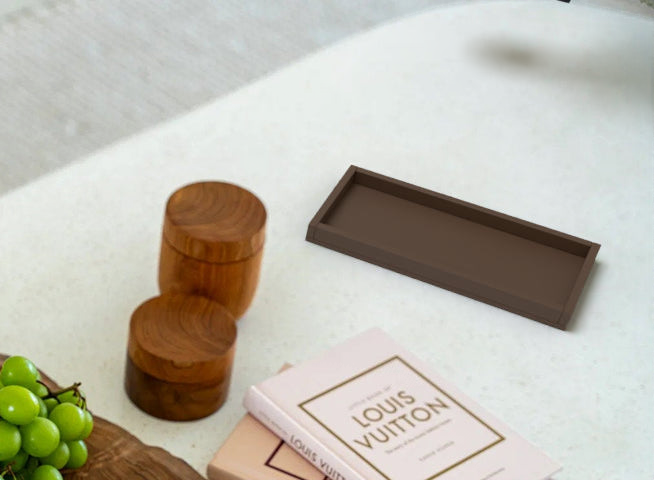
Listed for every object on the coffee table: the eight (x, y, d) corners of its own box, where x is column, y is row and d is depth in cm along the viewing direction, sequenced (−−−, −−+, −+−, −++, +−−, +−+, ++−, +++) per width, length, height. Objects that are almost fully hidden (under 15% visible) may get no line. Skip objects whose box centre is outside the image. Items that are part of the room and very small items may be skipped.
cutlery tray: (594, 260, 111) (601, 244, 109) (564, 331, 104) (572, 314, 102) (347, 180, 119) (351, 164, 118) (304, 240, 112) (308, 223, 111)
